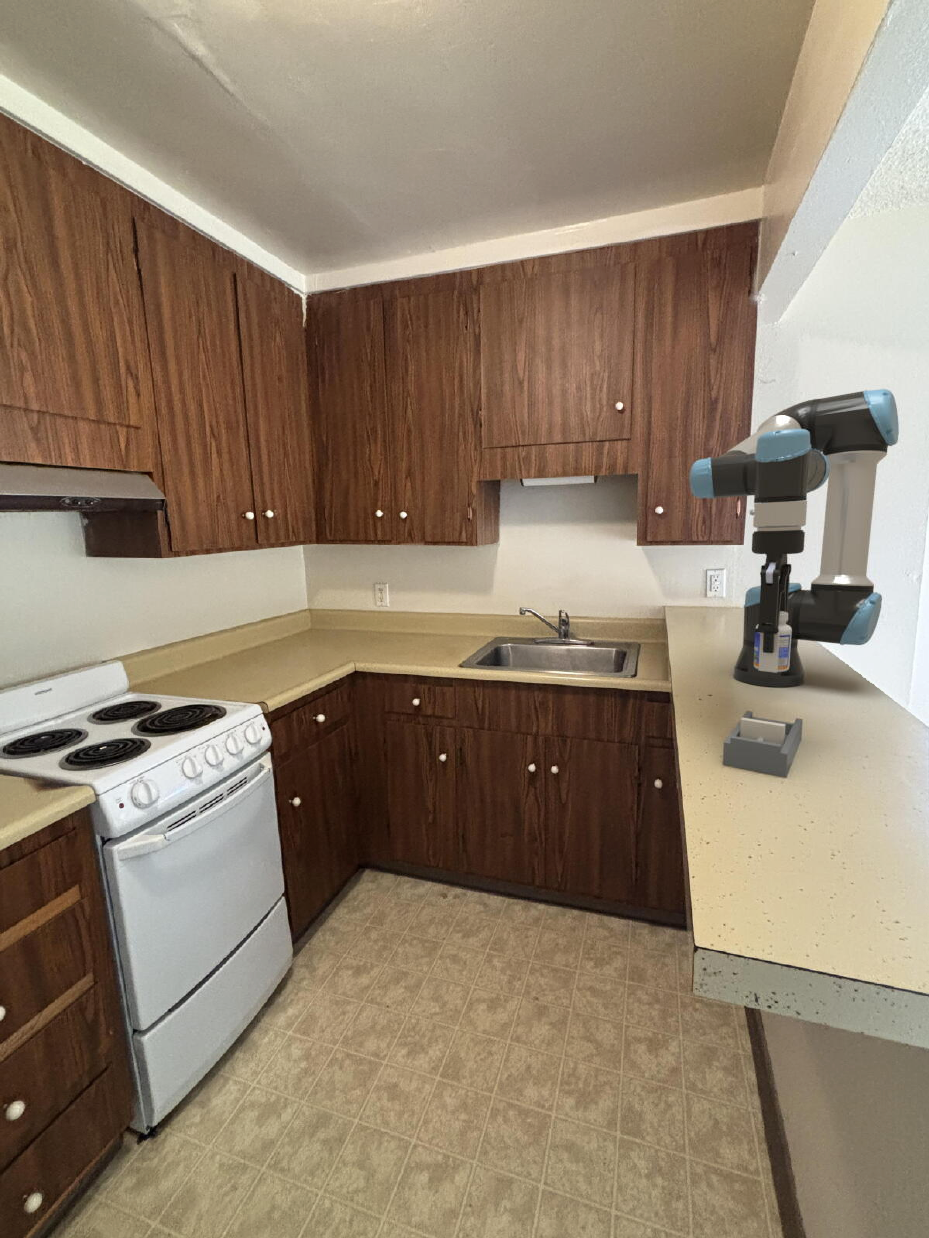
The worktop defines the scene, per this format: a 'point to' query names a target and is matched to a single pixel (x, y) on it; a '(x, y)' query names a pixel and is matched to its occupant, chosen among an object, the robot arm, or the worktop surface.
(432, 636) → the worktop surface
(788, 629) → the pill bottle
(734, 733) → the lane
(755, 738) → the pusher
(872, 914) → the worktop surface
